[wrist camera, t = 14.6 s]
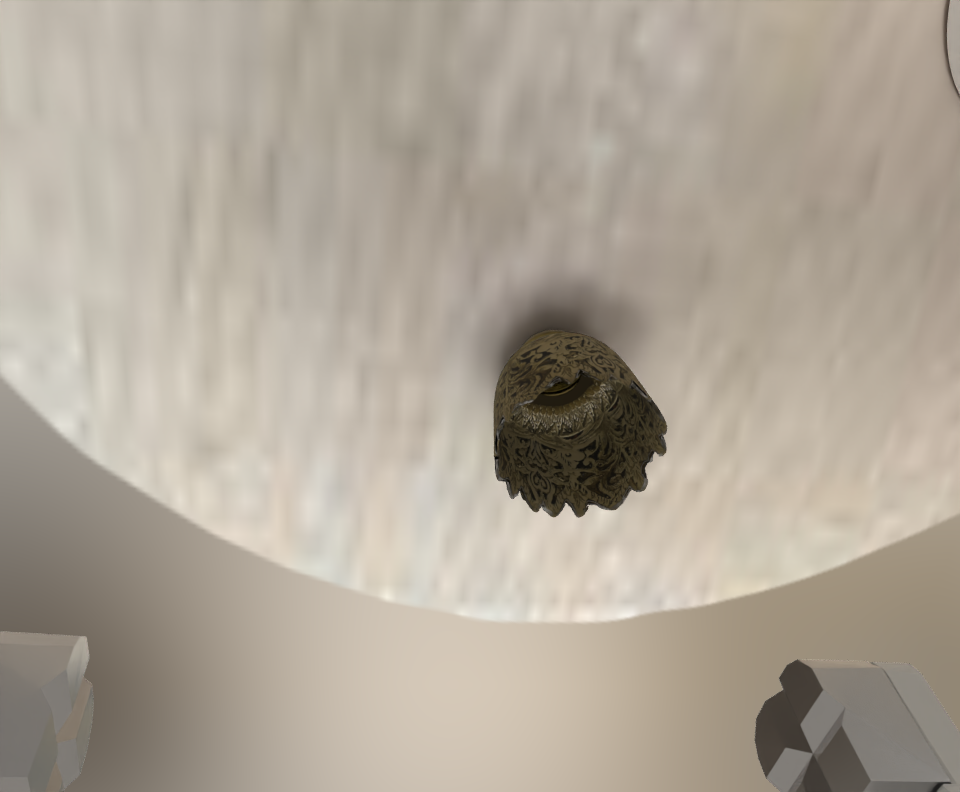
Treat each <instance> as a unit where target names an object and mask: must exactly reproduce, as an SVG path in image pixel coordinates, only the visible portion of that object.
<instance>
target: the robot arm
mask: <svg viewBox="0 0 960 792" xmlns="http://www.w3.org/2000/svg"><path fill="white" fill-rule="evenodd" d="M947 48H948V57H949V64H950V68H951V72H952V76H953V79H954V82H955V85H956V88H957V90H958V92H959V95H960V0H950V5H949V11H948V22H947ZM88 660H89V651H88V644H87V638H86V637H84V636H69V635H53V634H36V633H19V632H3V631H0V792H64V789H65V788H66V787H67V786H68V785H69V784H70V783H72V782H73V781H74V780H75V779H76V778H77V777H78V776H79V775H80V772H81V769H82V765H83V762H84V759H85V755H86V751H87V748H88V742H89V737H90V730H91V725H92V719H93V687H92V684H91V683H90V682H88V681H87V680H86V679H85V678H84V677H83V676H84V673H85V670H86V667H87V663H88ZM779 679H780V682H781V685H782V688H783V690H782V691H781V692H779V693H777V694H776V695H774V696H773V697H771V698H769V699H768V700H766V701H765V703H764V705H763V707H762V708H761V710H760V713H759V714H758V716H757V718H756V730H755V744H756V749H757V754H758V759H759V761H760V764H761V766H762V769H763V772H764V774H765V777H766V779H768V780H769V782H771V783H772V784H773V785H774V786H775V787H776V788H777V789H778V790H779V791H780V792H960V732H959V731H958V729H957V727H956V726H955V725H954V723H953V721H952V720H951V718H950V717H949V715H948V713H947V712H946V710H945V709H944V707H943V706H942V704H941V703H940V701H939V700H938V698H937V696H936V695H935V693H934V692H933V690H932V689H931V687H930V686H929V684H928V683H927V681H926V680H925V678H924V677H923V675H922V674H921V673H920V671H918V670H917V669H916V668H915V667H913V666H912V665H911V664H910V663H888V662H887V663H886V662H867V661H849V660H848V661H847V660H795V661H794V662H792V663H790V664H788V665H787V666H786V668H785V669H784V671H783V672H782V674H781V676H780V677H779Z"/></svg>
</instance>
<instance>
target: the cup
mask: <svg viewBox="0 0 960 792" xmlns="http://www.w3.org/2000/svg"><path fill="white" fill-rule="evenodd" d="M666 431H667V425H666V421H665V419H664V417H663V416H662V414H661V412H660V410H659V409H658V407H657V406H656V404H655V403H654V402H653V400H652V398H651V397H650V396H649V395H648V393H647V392H646V390H645V389H644V388H643V386H642V385H641V383H640V382H639V381H638V379H637V378H636V377H635V375H634V374H633V373H632V371H631V370H630V369H629V367H628V366H627V365H626V364H625V362H624V361H623V360H622V359H621V358H620V357H619V356H618V355H617V354H616V353H615V352H614V351H613V350H612V349H610V348H609V347H608V346H607V345H605V344H604V343H602V342H600V341H598V340H596V339H594V338H592V337H589V336H586V335H583V334H579V333H568V332H566V331H562V330H546V331H542V332H539V333H537V334H535V335H533V336H532V337H530V338H529V339H528V340H527V341H526V342H525V343H524V344H523V345H522V347H521V348H520V349H519V350H518V351H517V352H516V353H515V354H514V355H513V356H512V357H511V358H510V360H509V361H508V362H507V364H506V365H505V367H504V369H503V371H502V373H501V375H500V377H499V380H498V384H497V387H496V391H495V399H494V458H495V473H496V477H497V479H498V481H503V482H504V481H505V482H506V485H507V490H508V492H509V495H510V497H511V499H514V498H515V497H516V496H518V494H519V491H520V493H521V496H522V498H523V500H525V501H526V502H527V504H528V505H529V507H530V508H531V509H532V510H533V511H534V512H538V511H539V509H540V508H541V506H542V508H543V510H544V511H545V512H547V513H548V514H549V515H550V516H552V517H556V516H558V515H559V514H560V512H561V511H562V510H563V508H564V506H565V505H564V504H565V503H567V504H568V505H569V506H570V507H571V508H572V510H573V512H574V513H575V515H576V516H577V517H582V516H583V515H585V512H586V511H587V510H588V506H587V505H588V504H589V505H597V506H598V507H599V508H602V509H605V510H616V509H617V508H618V507H619V506H621V504H622V503H623V502H624V501H625V499H626V498H627V496H628V494H629V492H630V491H631V489H633V490H634V491H636V492H641V491H644V490H645V489H646V487H647V484H648V479H647V476H646V472H645V467H646V465H647V463H649V462H652V461H653V454H654V452H656V453H657V454H659V456H663V455H664V454H665V453H666V443H665V440H664V437H663V435H665V434H666ZM586 507H587V508H586Z"/></svg>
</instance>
